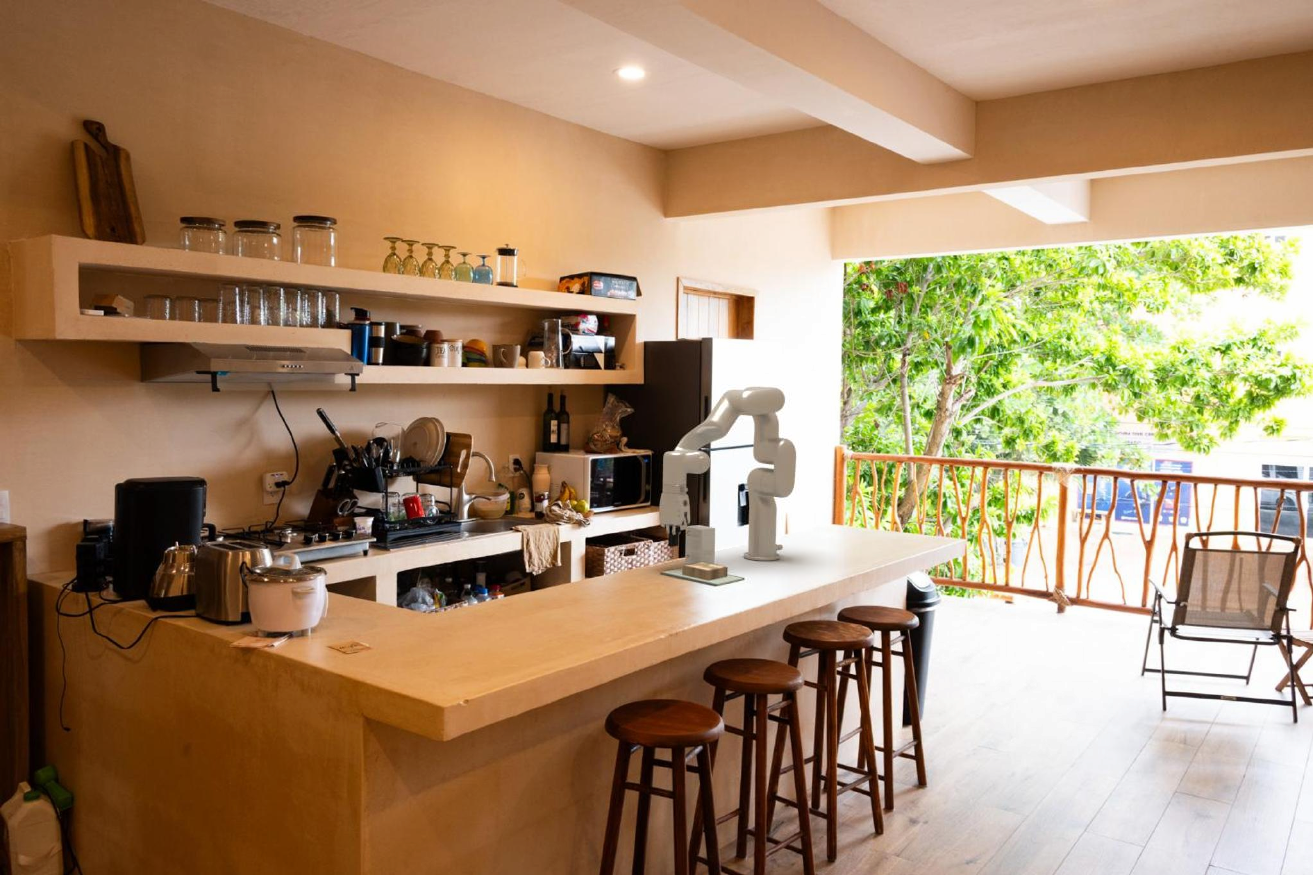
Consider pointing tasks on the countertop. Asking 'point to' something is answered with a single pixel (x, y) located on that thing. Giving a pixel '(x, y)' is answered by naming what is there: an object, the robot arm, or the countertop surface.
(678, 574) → the mat
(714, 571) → the slab
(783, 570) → the countertop surface
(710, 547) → the small box
